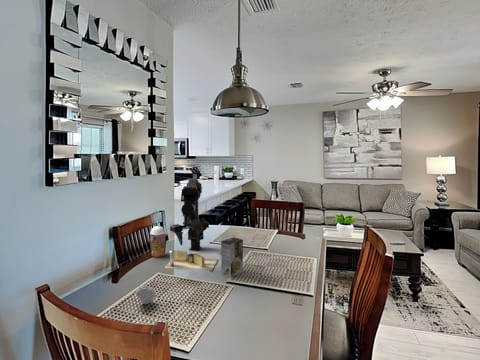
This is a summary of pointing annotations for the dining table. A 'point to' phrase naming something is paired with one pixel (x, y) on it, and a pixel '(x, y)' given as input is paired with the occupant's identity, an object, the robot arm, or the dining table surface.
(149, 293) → the grey head sculpture
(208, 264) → the mount board
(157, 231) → the smoothie
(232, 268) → the coffee box
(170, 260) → the pin
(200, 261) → the loose leaf
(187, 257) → the hinge base
